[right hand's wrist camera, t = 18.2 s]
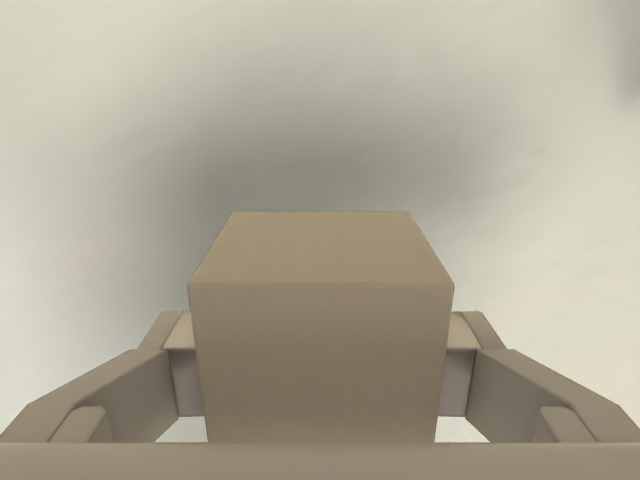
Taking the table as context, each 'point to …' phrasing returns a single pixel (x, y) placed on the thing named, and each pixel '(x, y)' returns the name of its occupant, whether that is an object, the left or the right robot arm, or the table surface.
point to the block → (320, 328)
